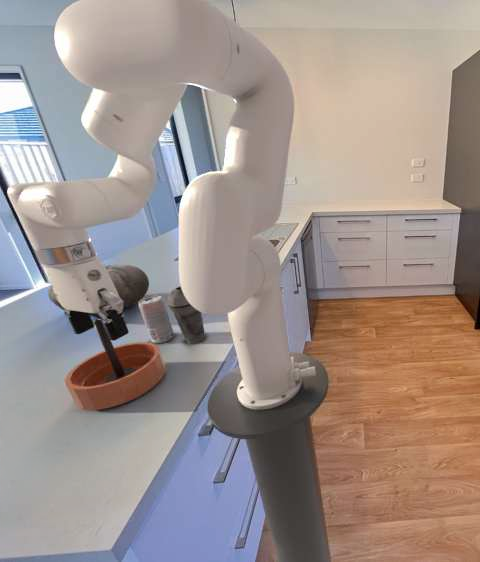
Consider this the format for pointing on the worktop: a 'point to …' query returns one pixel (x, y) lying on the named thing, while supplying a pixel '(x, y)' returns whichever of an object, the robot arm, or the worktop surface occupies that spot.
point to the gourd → (121, 285)
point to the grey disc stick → (111, 353)
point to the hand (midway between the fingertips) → (102, 333)
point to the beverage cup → (186, 317)
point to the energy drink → (156, 319)
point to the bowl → (99, 395)
